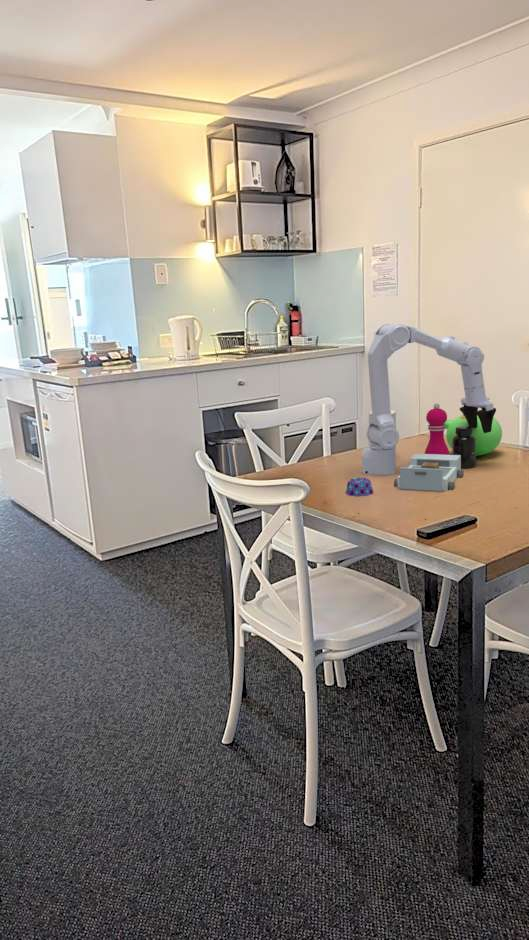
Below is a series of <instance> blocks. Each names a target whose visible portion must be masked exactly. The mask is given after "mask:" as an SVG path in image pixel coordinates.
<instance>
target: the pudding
mask: <svg viewBox="0 0 529 940" xmlns="http://www.w3.org/2000/svg"><path fill="white" fill-rule="evenodd" d="M345 494H346V495H348V496H349V497H352V496H353V497H359V498H360V497H368V496H370V495H373V494H374V489H373V485H372V481H371V480H370V479H369V478H367V477H354V478H351V479H349V480H348V482H347V484H346V489H345Z"/></svg>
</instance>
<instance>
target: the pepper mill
mask: <svg viewBox="0 0 529 940" xmlns="http://www.w3.org/2000/svg"><path fill="white" fill-rule="evenodd" d="M440 407H441V405H440V403H437V402H436V403H434V404H433V408H432V409H430V410H428V412H427V413H426V417H425V418H426V421H427V423H428V425H427V427H428V428H427V429H428V431H429V440H428V443H427V446H426V448H425V451H424V454H440V455H450V451H449V448H448V446H447V444H446V442H445V441H446V440H445V438H444V434H445V433H444V432H445V431H446V428H445V424H444V423H445V422H446V420H448V413H447V412H446V410H444V409H442V408H440Z"/></svg>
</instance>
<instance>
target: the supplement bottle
mask: <svg viewBox="0 0 529 940" xmlns="http://www.w3.org/2000/svg"><path fill="white" fill-rule="evenodd" d="M455 433H456V436H454V437H453V439H452V448H451V451H452V452H451V453H452V454H451V455H461V469H471V468H472V469H473V468H474V467H475V466H476V458H477V456H476V439H475V437H474V436H472V433H473V432H472V427H470V426H459V427H456V432H455Z"/></svg>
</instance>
